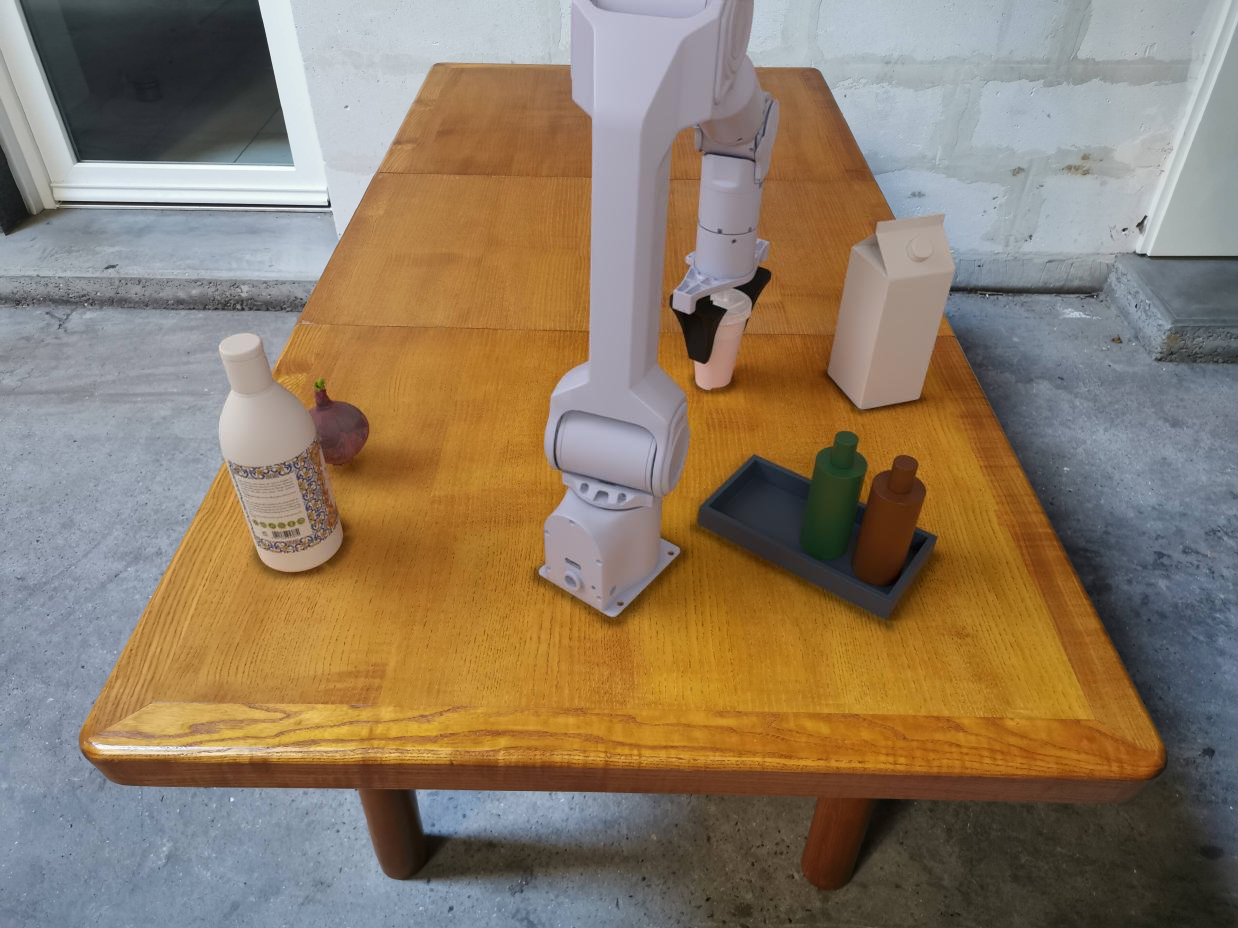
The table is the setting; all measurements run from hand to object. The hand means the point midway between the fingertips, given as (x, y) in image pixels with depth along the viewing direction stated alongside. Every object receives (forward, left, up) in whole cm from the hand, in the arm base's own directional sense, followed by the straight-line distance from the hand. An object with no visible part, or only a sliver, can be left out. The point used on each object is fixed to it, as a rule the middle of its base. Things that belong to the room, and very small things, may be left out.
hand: (716, 345), depth 91 cm
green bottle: (-15, -21, -4) cm, 26 cm away
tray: (-15, -20, -4) cm, 26 cm away
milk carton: (+10, -14, -5) cm, 18 cm away
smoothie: (0, 0, -5) cm, 5 cm away
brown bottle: (-15, -26, -4) cm, 30 cm away
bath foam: (-42, +14, -5) cm, 45 cm away
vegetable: (-33, +20, -5) cm, 39 cm away
